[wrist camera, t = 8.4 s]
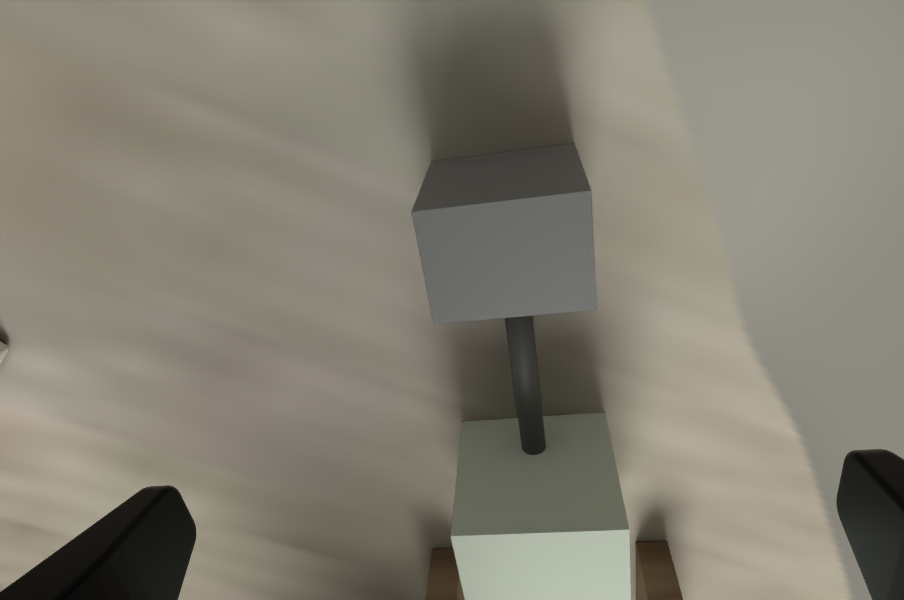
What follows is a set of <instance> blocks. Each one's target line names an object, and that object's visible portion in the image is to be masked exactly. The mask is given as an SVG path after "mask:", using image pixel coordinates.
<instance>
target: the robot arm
mask: <svg viewBox="0 0 904 600" xmlns="http://www.w3.org/2000/svg"><path fill="white" fill-rule="evenodd" d="M837 510H838V514H839V517H840V520H841V523H842V525H843V527H844V530H845V533H846V535H847V537H848V540H849V543H850V545H851V547H852V550H853V552H854V555H855V558H856V560H857V563H858V565H859V568H860V570H861V572H862V575H863V578H864V580H865V582H866V585H867V588H868V590H869V593H870V595H871V597H872V600H904V459H902V458H901V457H899V456H897V455H895V454H894V453H892V452H890V451H887V450H883V449H873V450H854V451H851V452H849V453H848V454H847V455H846V457H845V460H844V464H843V469H842V475H841V478H840V484H839V488H838V493H837ZM195 540H196V526H195V523H194V520H193V518H192V516H191V514H190V512H189V510H188V508H187V506H186V504H185V502H184V500H183V498H182V496H181V494H180V493H179V491H178V490H177V489H176V488H175V487H173V486H151V487H146V488H144V489H142V490H140V491H139V492H137V493H136V494H135V495H133V496H132V497H131V498H129V499H128V500H126V501H125V502H124V503H122V504H121V505H120V506H118V507H117V508H115V509H114V510H113V511H111V512H110V513H109V514H107V515H106V516H104V517H103V518H102V519H100V520H99V521H97V522H96V523H95V524H93V525H92V526H91V527H89V528H88V529H86V530H85V531H84V532H82V533H81V534H80V535H78V536H77V537H75V538H74V539H73V540H71V541H70V542H69V543H67V544H66V545H64V546H63V547H62V548H60V549H59V550H58V551H56V552H55V553H53V554H52V555H51V556H49V557H48V558H47V559H45V560H44V561H42V562H41V563H40V564H38V565H37V566H36V567H34V568H33V569H31V570H30V571H29V572H27V573H26V574H25V575H23V576H22V577H20V578H19V579H18V580H16V581H15V582H13V583H12V584H11V585H9V586H8V587H7V588H5V589H4V590H2V591H1V592H0V600H178V597H179V594H180V590H181V587H182V584H183V580H184V577H185V574H186V570H187V567H188V564H189V561H190V557H191V554H192V551H193V547H194V544H195Z"/></svg>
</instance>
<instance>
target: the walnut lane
mask: <svg viewBox="0 0 904 600" xmlns="http://www.w3.org/2000/svg"><path fill="white" fill-rule="evenodd" d="M426 600H465V598H464V594H463V589H462V585H461V581H460V576H459V572H458V567H457V563H456V558H455V554H454V549H453V548H448V549H432V556H431V563H430V571H429V578H428V586H427V593H426ZM636 600H683V598H682V594H681V590H680V587H679V583H678V579H677V576H676V572H675V568H674V565H673V561H672V557H671V554H670V550H669V546H668V543H667V541H661V542H636Z"/></svg>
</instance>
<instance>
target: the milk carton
mask: <svg viewBox="0 0 904 600" xmlns="http://www.w3.org/2000/svg"><path fill="white" fill-rule="evenodd" d="M8 350H9V347H8V346H7V345H5V344H4V343H2V342H1V341H0V364H1V362H2V361H3V359H4V357H5V356H6V354H7V352H8Z"/></svg>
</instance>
